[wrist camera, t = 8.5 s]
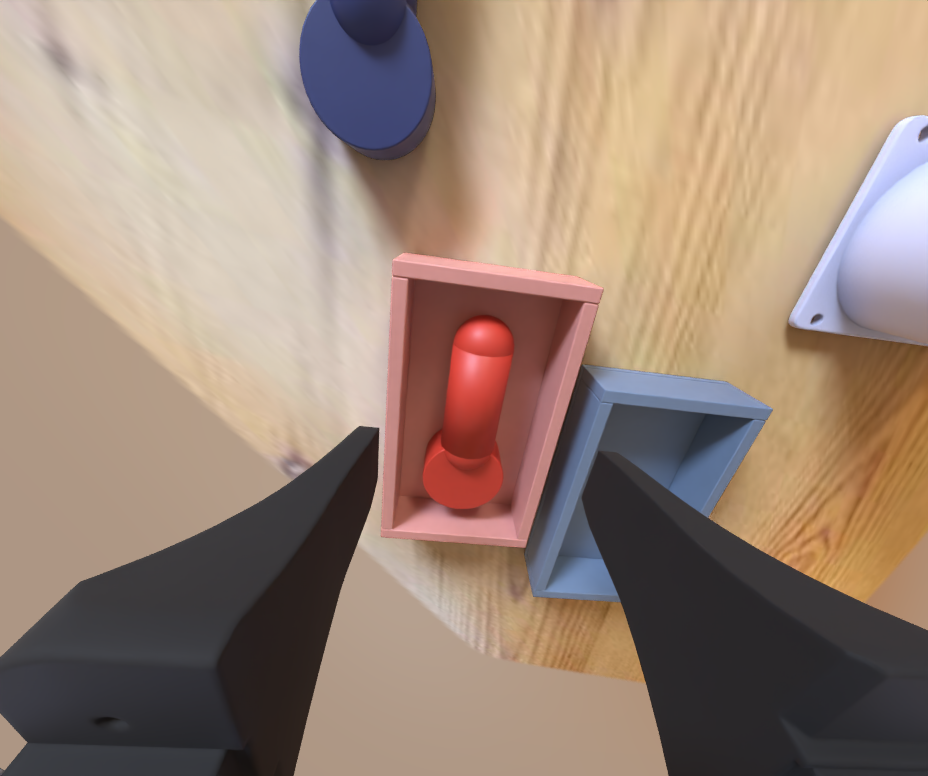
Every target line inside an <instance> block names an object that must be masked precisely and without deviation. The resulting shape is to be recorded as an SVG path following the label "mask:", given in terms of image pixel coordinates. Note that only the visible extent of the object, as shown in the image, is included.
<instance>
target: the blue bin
mask: <svg viewBox="0 0 928 776" xmlns="http://www.w3.org/2000/svg"><path fill="white" fill-rule="evenodd" d="M772 411H773V409H772V408H770V407H769V406H767V405H765V404H763V403H762V402H760V401H758V400H757V399H755V398H753V397H752V396H750V395H748V394H746V393H745V392H743V391H741V390H740V389H738V388H736V387H735V386H733V385H731V384H730V383H728V382H725V381H716V380H708V379H700V378H691V377H683V376H675V375H666V374H658V373H650V372H641V371H633V370H625V369H617V368H608V367H600V366H592V365H582V366H581V370H580V373H579V376H578V380H577V383H576V386H575V389H574V393H573V396H572V399H571V403H570V406H569V409H568V412H567V416H566V419H565V422H564V425H563V429H562V432H561V435H560V439H559V442H558V445H557V448H556V452H555V455H554V458H553V462H552V465H551V468H550V471H549V475H548V478H547V481H546V484H545V488H544V491H543V494H542V498H541V501H540V504H539V507H538V511H537V514H536V517H535V520H534V524H533V527H532V530H531V534H530V537H529V540H528V543H527V547H526V550H525V553H524V556H525V560H526V565H527V570H528V575H529V580H530V584H531V589H532V594H533V597H546V598H562V599H578V600H594V601H610V602H621V601H620V599H619V596H618V593H617V591H616V589H615V586H614V584H613V582H612V579H611V577H610V575H609V572H608V570H607V568H606V565H605V563H604V561H603V558H602V556H601V554H600V551H599V549H598V547H597V544H596V542H595V539H594V537H593V535H592V532H591V530H590V527H589V524H588V521H587V517H586V514H585V510H584V506H583V502H582V498H581V497H582V494H583V492H584V489H585V486H586V483H587V481H588V478H589V475H590V473H591V470H592V467H593V465H594V462H595V459H596V457H597V454H598V451H609V452H617V453H619V454H620V455H622V456H623V457H625V458H626V459H628V460H629V461H630V462H632V463H633V464H635V465H636V466H637V467H639V468H640V469H641V470H643V471H644V472H645V473H647V474H648V475H649V476H651V477H652V478H653V479H655V480H656V481H657V482H659V483H660V484H661V485H663V486H664V487H665V488H667V489H668V490H669V491H671V492H672V493H673V494H675V495H676V496H677V497H679V498H680V499H681V500H683V501H684V502H686V503H687V504H688V505H690V506H691V507H693V508H694V509H696V510H697V511H699V512H700V513H701V514H703V515H704V516H706V517H707V518H708V517H709V515H710V514H711V512H712V510H713V509H714V507H715V505H716V504H717V502H718V500H719V499H720V497H721V495H722V494H723V492H724V490H725V489H726V487H727V485H728V484H729V482H730V480H731V479H732V477H733V475H734V474H735V472H736V470H737V469H738V467H739V465H740V464H741V462H742V460H743V459H744V457H745V455H746V454H747V452H748V450H749V449H750V447H751V445H752V444H753V442H754V440H755V439H756V437H757V435H758V434H759V432H760V430H761V429H762V427H763V425H764V424H765V422H766V421H765V420H767V419H768V417H769V416H770V414H771V412H772Z"/></svg>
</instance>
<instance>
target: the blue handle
mask: <svg viewBox="0 0 928 776" xmlns="http://www.w3.org/2000/svg"><path fill="white" fill-rule="evenodd" d="M416 12H417V0H316V1H315V2H314V4H313V5H312V7H311V9H310V11H309V13H308V14H307V17H306V19H305V22H304V25H303V29H302V33H301V39H300V69H301V75H302V80H303V84H304V87H305V90H306V93H307V96H308V98H309V100H310V103H311V105H312V107H313V108H314V110H315V112H316V114H317V115H318V117H319V118H320V119H321V121H322V122H323V123H324V124H325V126H326V127H327V128H328V129H329V130H330V131H331V132H332V133H333V134H334V135H335V136H337V137H338V138H339V139H341V140H342V141H344V142H345V143H346V144H348V145H349V146H350V147H352V148H353V149H355V150H356V151H357V152H359V153H361V154H363V155H365V156H367V157H370V158H373V159H378V160H392V159H396V158H400V157H402V156H405V155H406V154H408V153H410V152H411V151H412V150H414V149H415V148H416V147H417V146H418V145H419V144H420V143H421V141H422V140H423V138H424V137H425V136H426V134H427V132H428V130H429V128H430V125H431V122H432V119H433V115H434V110H435V102H436V91H435V81H434V74H433V67H432V60H431V55H430V50H429V46H428V43H427V39H426V37H425V34H424V32H423V29H422V27H421V25H420V23H419V21H418V20H417V18H416Z"/></svg>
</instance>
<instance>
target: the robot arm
mask: <svg viewBox="0 0 928 776" xmlns="http://www.w3.org/2000/svg"><path fill="white" fill-rule="evenodd" d="M920 132H921V135H920V137H919V139H918V136H919V133H920ZM814 316H815V317H814ZM813 317H814V319H813V320H812V321H811V319H812V318H813ZM789 324H790V325H791V326H792V327H795V328H799V329H804V330H812V331H819V332H826V333H834V334H841V335H848V336H856V337H863V338H870V339H878V340H885V341H892V342H900V343H907V344H915V345H922V346H928V116H923V115H918V116H913V117H909V118H906V119H904V120H901V121H900V122H899V123H898V124H897V125H896V126H895V127H894V128H893V130H892V131H891V133H890V134H889V136H888V138H887V140H886V142H885V144H884V145H883V147H882V149H881V151H880V153H879V154H878V156H877V158H876V160H875V162H874V164H873V165H872V167H871V169H870V171H869V173H868V174H867V176H866V178H865V180H864V182H863V184H862V185H861V187H860V189H859V191H858V193H857V194H856V196H855V198H854V200H853V202H852V204H851V205H850V207H849V209H848V211H847V213H846V214H845V216H844V218H843V220H842V222H841V224H840V225H839V227H838V229H837V231H836V233H835V234H834V236H833V238H832V240H831V242H830V244H829V245H828V247H827V249H826V251H825V253H824V254H823V256H822V258H821V260H820V262H819V264H818V265H817V267H816V269H815V271H814V273H813V274H812V276H811V278H810V280H809V282H808V284H807V285H806V287H805V289H804V291H803V293H802V294H801V296H800V298H799V300H798V302H797V304H796V305H795V307H794V309H793V311H792V313H791V314H790V317H789ZM378 450H379V428H374V427H364V426H359V427H358V428H356V429H355V430H354V431H353V432H352V433H351V434H350V435H348V436H347V437H346V438H345V439H344V440H343V441H342V442H341V443H339V444H338V445H337V446H336V447H335V448H334V449H333V450H331V451H330V452H329V453H328V454H327V455H325V456H324V457H323V458H322V459H320V460H319V461H318V462H317V463H316V464H314V465H313V466H312V467H310V468H309V469H308V470H306V471H305V472H304V473H302V474H301V475H300V476H298V477H297V478H295V479H294V480H293V481H291V482H290V483H289V484H287V485H286V486H284V487H283V488H281V489H280V490H278V491H277V492H275V493H273V494H272V495H270V496H269V497H267V498H265V499H264V500H262V501H260V502H259V503H257V504H255V505H253V506H252V507H250V508H248V509H246V510H244V511H242V512H240V513H238V514H236V515H235V516H233V517H231V518H229V519H227V520H225V521H223V522H221V523H220V524H218V525H216V526H214V527H212V528H210V529H208V530H205V531H203V532H201V533H199V534H197V535H195V536H193V537H191V538H189V539H186V540H184V541H182V542H179V543H177V544H175V545H173V546H170V547H168V548H166V549H164V550H161V551H159V552H156V553H154V554H151V555H149V556H146V557H144V558H142V559H139V560H136V561H134V562H131V563H129V564H126V565H123V566H121V567H118V568H115V569H113V570H110V571H108V572H105V573H103V574H100V575H97V576H95V577H92V578H89V579H87V580H84V581H81V582H79V583H78V584H77V585H76V586H75V587H74V588H73V589H72V590H70V592H68V594H66V595H65V596H64V597H63V598H62V599H61V600H60V601H59V602H58V603H57V604H56V605H55V606H54V607H53V608H51V609H50V610H49V611H48V612H47V613H46V614H45V615H44V616H43V617H42V618H41V619H40V620H39V621H38V622H37V623H36V624H35V625H34V626H33V627H32V628H30V629H29V630H28V631H27V632H26V633H25V634H24V635H23V636H22V637H21V638H20V639H19V640H18V641H17V642H16V643H15V644H14V645H13V646H12V647H11V648H10V649H8V651H6V652H5V653H4V654H3V655H2V656H1V657H0V713H1V715H2V716H3V717H4V718H5V719H6V720H7V721H8V722H9V723H10V724H11V725H12V726H13V727H14V729H16V731H17V732H18V733H19V734H20V735H21V736H22V737H23V738H24V739H25V740H26V741H27V742H28V743H27V744H26V745H25V747H24V748H23V749H22V750H21V752H20V753H19V754H18V755H17V756H16V758H15V759H14V760H13V761H12V762H11V764H10V765H9V766H8V767H7V769H6V770H3V769H1V768H0V776H293V775H294V771H295V767H296V762H297V759H298V754H299V750H300V746H301V742H302V738H303V734H304V729H305V725H306V721H307V717H308V713H309V709H310V705H311V701H312V697H313V693H314V689H315V685H316V681H317V677H318V673H319V669H320V665H321V661H322V657H323V653H324V650H325V646H326V642H327V638H328V635H329V631H330V627H331V623H332V619H333V616H334V612H335V608H336V605H337V601H338V597H339V594H340V590H341V587H342V584H343V581H344V578H345V575H346V572H347V569H348V567H349V564H350V562H351V559H352V556H353V554H354V551H355V548H356V546H357V543H358V540H359V538H360V535H361V532H362V530H363V527H364V524H365V522H366V519H367V516H368V514H369V511H370V508H371V504H372V500H373V496H374V492H375V488H376V484H377V479H378ZM581 498H582V502H583V506H584V510H585V514H586V517H587V521H588V524H589V527H590V530H591V532H592V535H593V537H594V539H595V542H596V544H597V547H598V549H599V551H600V554H601V556H602V558H603V561H604V563H605V565H606V568H607V570H608V572H609V575H610V577H611V579H612V582H613V584H614V586H615V589H616V591H617V593H618V596H619V599H620V601H621V604H622V606H623V609H624V612H625V615H626V618H627V621H628V625H629V628H630V631H631V634H632V637H633V640H634V643H635V647H636V650H637V654H638V657H639V660H640V664H641V667H642V671H643V674H644V678H645V681H646V685H647V688H648V692H649V696H650V700H651V704H652V708H653V712H654V715H655V719H656V723H657V727H658V731H659V735H660V739H661V743H662V748H663V753H664V757H665V762H666V766H667V770H668V775H669V776H928V630H926V629H923V628H921V627H919V626H916V625H914V624H911V623H909V622H906V621H904V620H902V619H900V618H897V617H895V616H893V615H890V614H888V613H886V612H883V611H881V610H879V609H876V608H874V607H871V606H869V605H867V604H865V603H863V602H861V601H859V600H856V599H854V598H852V597H850V596H848V595H846V594H844V593H842V592H840V591H837V590H835V589H833V588H831V587H829V586H827V585H825V584H823V583H821V582H819V581H817V580H815V579H813V578H811V577H809V576H807V575H805V574H803V573H801V572H799V571H797V570H795V569H794V568H792V567H790V566H788V565H786V564H784V563H782V562H781V561H779V560H777V559H775V558H773V557H771V556H769V555H768V554H766V553H764V552H762V551H761V550H759V549H757V548H755V547H754V546H752V545H750V544H749V543H747V542H745V541H744V540H742V539H740V538H739V537H737V536H735V535H734V534H732V533H731V532H729V531H727V530H726V529H724V528H722V527H721V526H719V525H718V524H716V523H715V522H713V521H712V520H710V519H709V518H707V517H706V516H704V515H703V514H701V513H700V512H699V511H697V510H696V509H694V508H693V507H691V506H690V505H688V504H687V503H686V502H684V501H683V500H681V499H680V498H679V497H677V496H676V495H675V494H673V493H672V492H671V491H669V490H668V489H667V488H665V487H664V486H663V485H661V484H660V483H659V482H657V481H656V480H655V479H653V478H652V477H651V476H649V475H648V474H647V473H645V472H644V471H643V470H641V469H640V468H639V467H637V466H636V465H635V464H633V463H632V462H630V461H629V460H628V459H626V458H625V457H623V456H622V455H620V454H619V453H617V452H609V451H598V454H597V457H596V459H595V462H594V465H593V467H592V470H591V473H590V475H589V478H588V481H587V483H586V486H585V489H584V492H583V494H582V497H581Z"/></svg>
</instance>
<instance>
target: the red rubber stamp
mask: <svg viewBox="0 0 928 776" xmlns="http://www.w3.org/2000/svg"><path fill="white" fill-rule="evenodd" d="M513 353H514V338H513V335H512V332H511V331H510V329H509V327H508V326H507V325H506V324H505V323H504V322H503V321H501V320H500V319H499V318H496V317H494V316H491V315H477V316H474V317H471V318H469V319H468V320H466V321H465V322H464V323H463V324H462V325H461V326H460V327H459V328H458V330H457V332H456V334H455V337H454V341H453V349H452V356H451V364H450V372H449V380H448V388H447V396H446V404H445V412H444V420H443V428H442V429H441V430H440V431H438V432H437V433H436V434H435V435H434V436H433V437H432V438H431V439H430V441H429V442H428V444H427V447H426V452H425V460H424V468H423V484H424V487H425V489H426V491H427V493H428V494H429V495H430V497H431V498H432V499H434V500H435V501H436V502H438V503H439V504H442V505H444V506H446V507H450V508H455V509H470V508H475V507H478V506H481V505H483V504H485V503H487V502H489V501H490V500H491V499H492V498H494V497H495V496H496V494H497V493H498V492H499V490H500V488H501V486H502V483H503V478H504V477H503V469H502V463H501V458H500V453H499V448H498V445H497V442H496V441H495V439H496V434H497V430H498V425H499V420H500V415H501V410H502V406H503V401H504V396H505V391H506V386H507V382H508V377H509V372H510V367H511V362H512V357H513Z"/></svg>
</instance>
